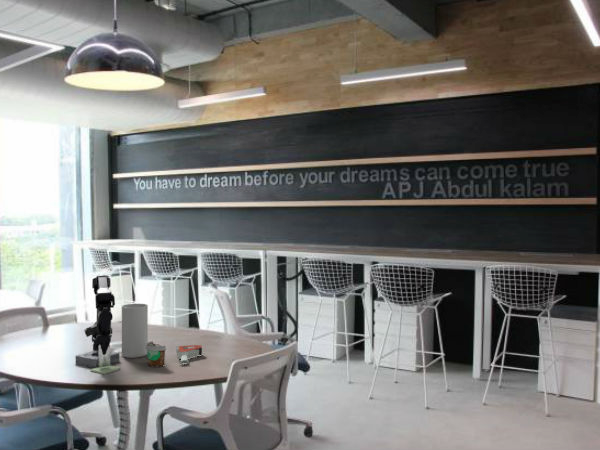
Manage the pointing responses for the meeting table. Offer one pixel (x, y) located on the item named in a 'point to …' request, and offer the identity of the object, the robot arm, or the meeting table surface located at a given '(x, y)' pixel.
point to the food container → (155, 354)
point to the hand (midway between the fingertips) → (104, 353)
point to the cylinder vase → (134, 330)
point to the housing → (94, 358)
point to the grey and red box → (188, 352)
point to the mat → (105, 369)
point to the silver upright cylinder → (104, 357)
